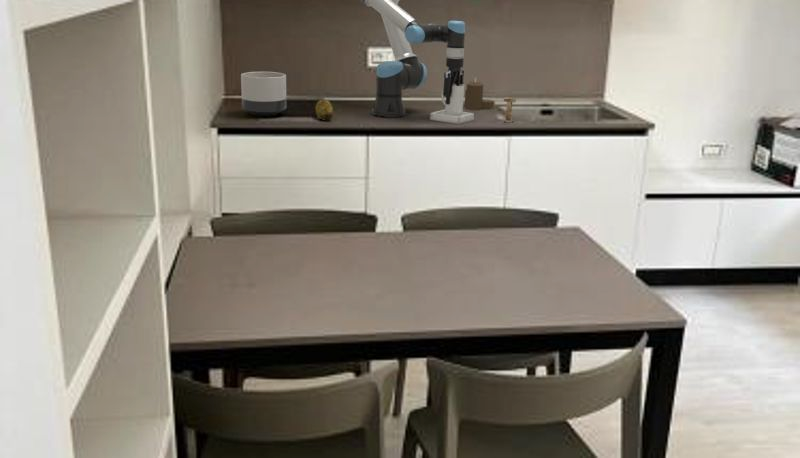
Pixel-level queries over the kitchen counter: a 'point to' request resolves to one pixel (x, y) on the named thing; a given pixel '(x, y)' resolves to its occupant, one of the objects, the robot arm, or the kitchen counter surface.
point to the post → (509, 108)
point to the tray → (451, 117)
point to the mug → (456, 98)
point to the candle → (476, 97)
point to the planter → (263, 92)
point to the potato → (324, 109)
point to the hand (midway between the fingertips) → (452, 110)
